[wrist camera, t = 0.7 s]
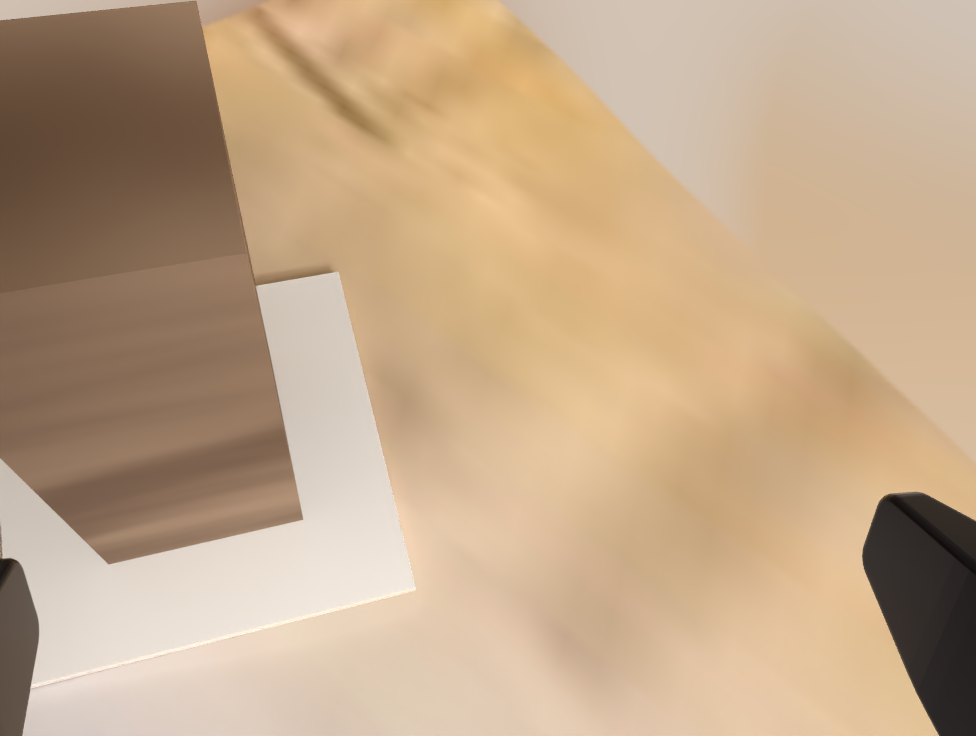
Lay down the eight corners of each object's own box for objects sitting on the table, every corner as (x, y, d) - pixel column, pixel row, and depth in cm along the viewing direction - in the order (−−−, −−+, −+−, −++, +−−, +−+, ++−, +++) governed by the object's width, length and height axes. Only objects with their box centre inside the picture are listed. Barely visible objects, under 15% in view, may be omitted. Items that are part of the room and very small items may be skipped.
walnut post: (303, 519, 25) (246, 252, 13) (108, 564, 23) (-144, 317, 12) (270, 357, 27) (196, 0, 15) (89, 391, 25) (-142, 35, 14)
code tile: (414, 590, 24) (416, 587, 24) (16, 692, 22) (10, 690, 22) (338, 278, 28) (338, 271, 28) (-7, 338, 26) (-12, 331, 26)
